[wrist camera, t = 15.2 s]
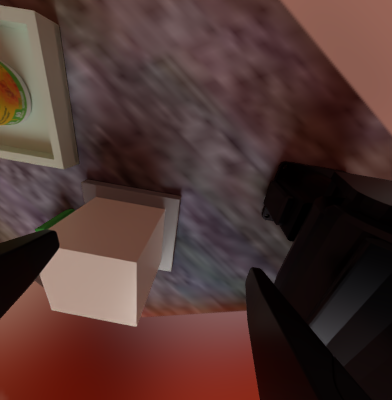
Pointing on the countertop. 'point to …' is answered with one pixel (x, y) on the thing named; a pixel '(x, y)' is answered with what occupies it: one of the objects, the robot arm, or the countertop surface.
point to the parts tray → (38, 91)
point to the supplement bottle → (13, 97)
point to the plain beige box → (111, 252)
